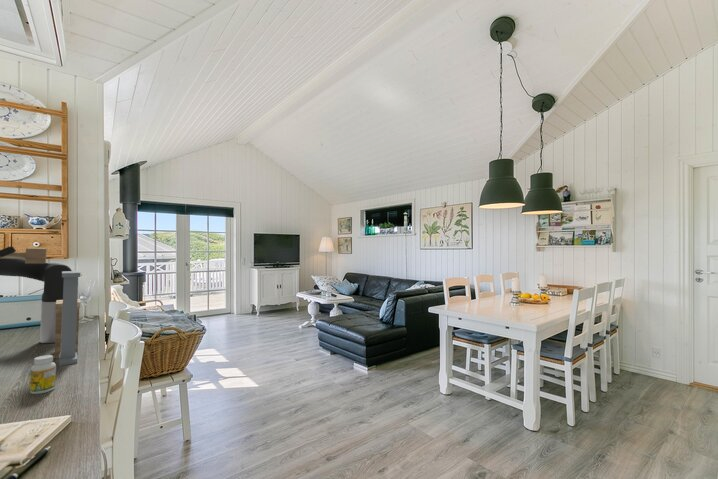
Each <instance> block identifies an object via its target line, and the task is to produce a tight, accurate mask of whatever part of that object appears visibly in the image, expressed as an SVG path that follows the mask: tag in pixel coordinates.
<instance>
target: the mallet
mask: <svg viewBox="0 0 718 479" xmlns="http://www.w3.org/2000/svg"><path fill="white" fill-rule="evenodd" d="M47 250H48V248H43V247H42V248H37V247H36V248H35V247H28V248H25V252H18V251H16V252H14V253H11V254H9V255H6V256H4V257H2V258H16V259H25V263H47V252H48V251H47Z"/></svg>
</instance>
